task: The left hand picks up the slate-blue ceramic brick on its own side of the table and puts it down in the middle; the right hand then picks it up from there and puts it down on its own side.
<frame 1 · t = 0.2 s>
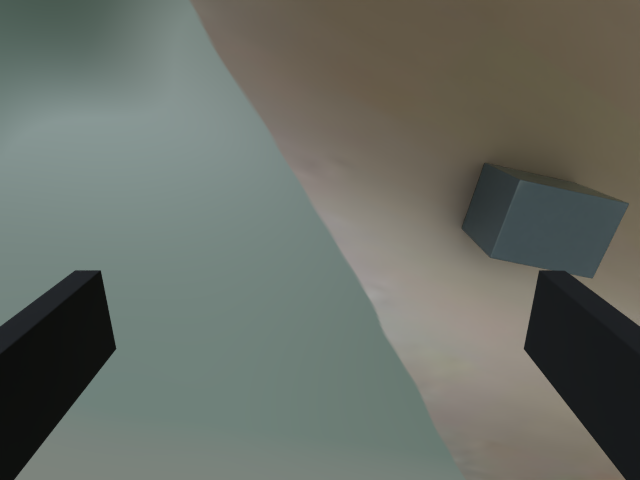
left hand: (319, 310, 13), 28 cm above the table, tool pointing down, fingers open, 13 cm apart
brick: (517, 206, 40), on the table
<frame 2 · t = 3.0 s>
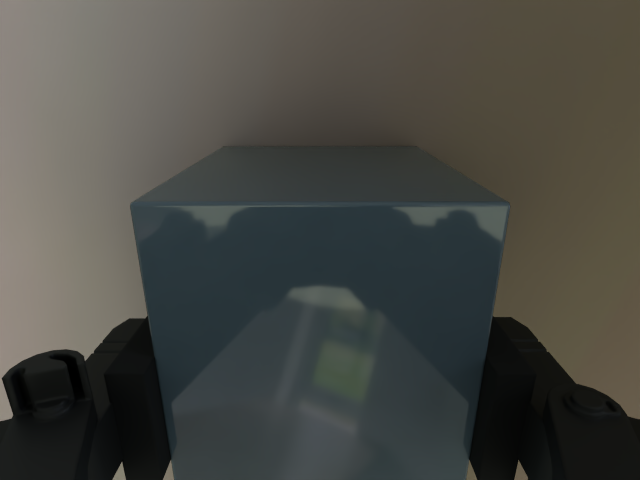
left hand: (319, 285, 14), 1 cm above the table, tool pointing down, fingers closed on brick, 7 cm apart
brick: (320, 268, 16), on the table, touching left hand
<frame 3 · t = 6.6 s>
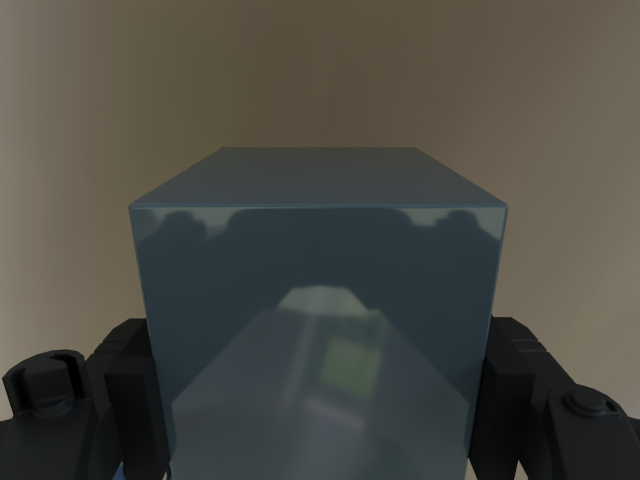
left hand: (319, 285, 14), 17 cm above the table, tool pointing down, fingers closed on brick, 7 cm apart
brick: (319, 269, 16), point 15 cm above the table, touching left hand
when the left hand's fingers open (3 cm above the table, at t = 10.3 s): brick drops 2 cm, on the table.
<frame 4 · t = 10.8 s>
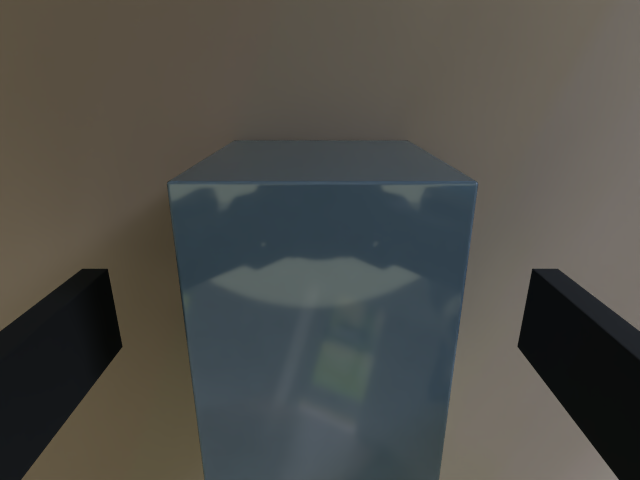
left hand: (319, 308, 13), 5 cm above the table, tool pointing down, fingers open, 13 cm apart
brick: (321, 251, 17), on the table
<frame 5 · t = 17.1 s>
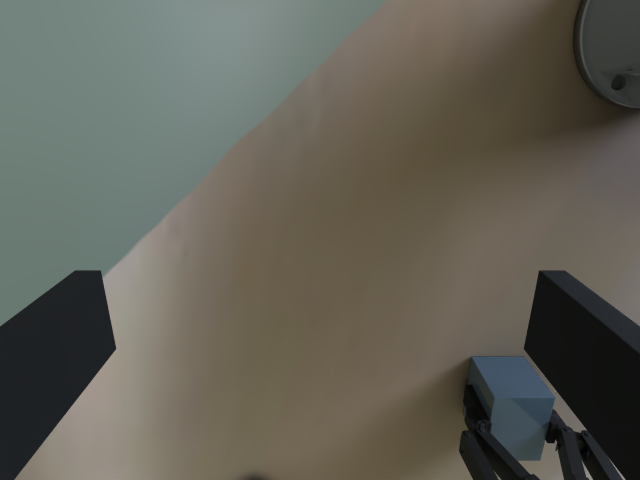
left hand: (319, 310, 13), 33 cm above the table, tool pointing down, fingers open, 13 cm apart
right hand: (496, 393, 52), fingers closed on brick, 7 cm apart
brick: (492, 386, 54), on the table, touching right hand
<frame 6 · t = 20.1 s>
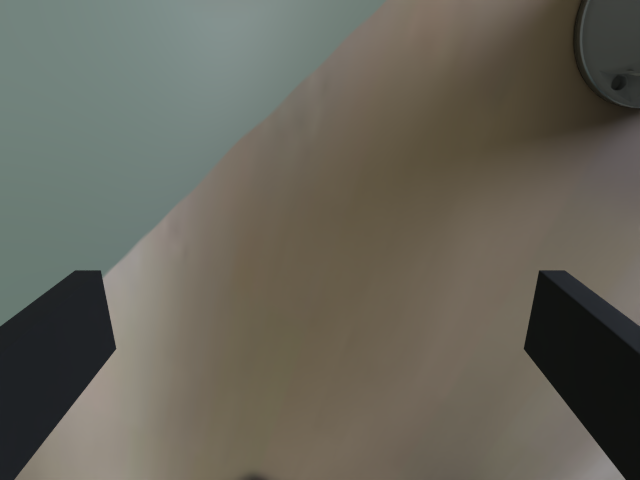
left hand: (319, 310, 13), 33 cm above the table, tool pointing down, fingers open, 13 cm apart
when the right hand's fingers open (3 cm above the table, at t = 23.1 s): brick drops 2 cm, on the table.
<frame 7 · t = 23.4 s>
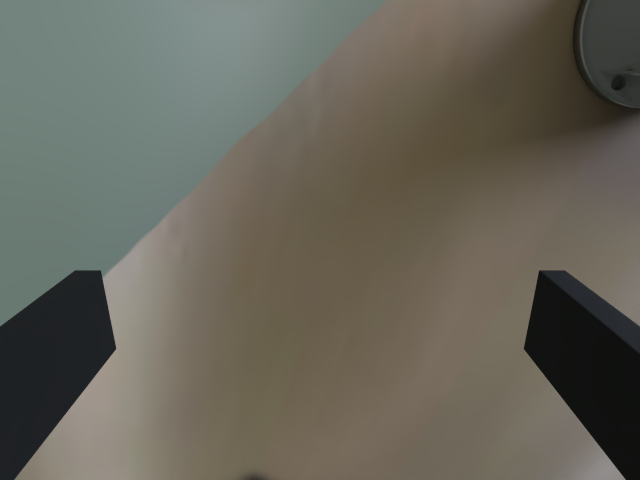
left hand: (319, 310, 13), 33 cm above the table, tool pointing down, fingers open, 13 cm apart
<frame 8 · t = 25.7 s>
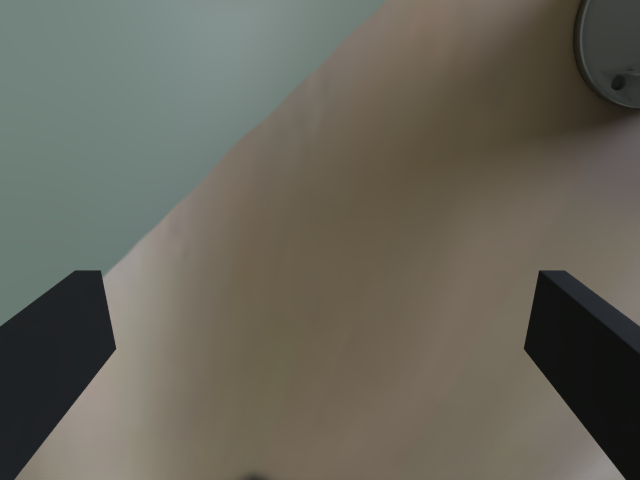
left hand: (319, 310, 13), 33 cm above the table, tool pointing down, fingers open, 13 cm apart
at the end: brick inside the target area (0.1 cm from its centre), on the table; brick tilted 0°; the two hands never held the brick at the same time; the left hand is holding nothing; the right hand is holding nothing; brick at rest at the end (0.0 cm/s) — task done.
